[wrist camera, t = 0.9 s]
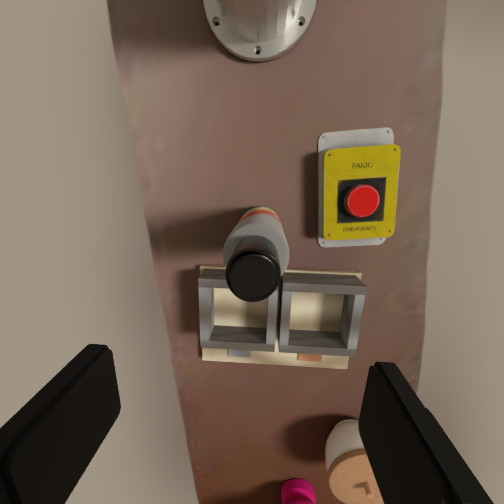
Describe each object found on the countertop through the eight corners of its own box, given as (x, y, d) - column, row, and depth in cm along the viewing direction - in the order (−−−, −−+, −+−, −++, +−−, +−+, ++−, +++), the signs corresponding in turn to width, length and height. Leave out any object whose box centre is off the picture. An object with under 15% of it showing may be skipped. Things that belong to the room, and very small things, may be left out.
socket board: (201, 264, 38) (192, 276, 33) (359, 270, 37) (373, 284, 32) (204, 356, 42) (195, 378, 37) (345, 364, 41) (355, 388, 36)
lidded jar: (384, 451, 46) (413, 518, 36) (324, 458, 47) (337, 525, 38) (377, 404, 43) (407, 463, 34) (313, 413, 44) (325, 472, 35)
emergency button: (323, 255, 32) (324, 126, 29) (317, 246, 37) (317, 133, 33) (399, 251, 32) (411, 119, 28) (383, 243, 36) (392, 127, 32)
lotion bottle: (247, 199, 35) (223, 223, 16) (286, 213, 35) (310, 252, 16) (234, 238, 37) (199, 301, 17) (272, 251, 37) (278, 328, 17)
